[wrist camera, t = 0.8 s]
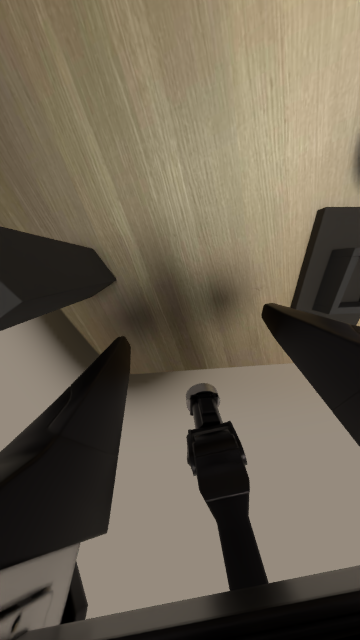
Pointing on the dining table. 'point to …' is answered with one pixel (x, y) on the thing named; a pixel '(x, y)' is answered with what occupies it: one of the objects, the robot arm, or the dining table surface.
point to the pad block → (45, 275)
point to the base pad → (332, 267)
